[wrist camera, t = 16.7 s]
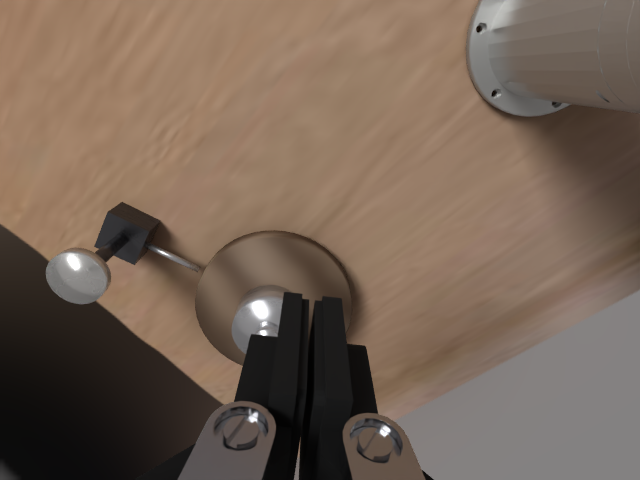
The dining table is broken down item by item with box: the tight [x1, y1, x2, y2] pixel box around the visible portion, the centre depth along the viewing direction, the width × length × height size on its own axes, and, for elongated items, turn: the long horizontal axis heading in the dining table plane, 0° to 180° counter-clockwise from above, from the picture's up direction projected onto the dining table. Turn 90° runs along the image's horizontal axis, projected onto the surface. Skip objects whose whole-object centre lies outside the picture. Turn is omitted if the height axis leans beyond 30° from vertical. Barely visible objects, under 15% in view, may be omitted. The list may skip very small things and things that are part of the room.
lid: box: [232, 285, 293, 354], centre depth 40 cm, size 7×7×4 cm
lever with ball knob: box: [46, 202, 200, 304], centre depth 37 cm, size 10×4×11 cm, turn 60°
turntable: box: [195, 231, 352, 366], centre depth 41 cm, size 16×16×6 cm
